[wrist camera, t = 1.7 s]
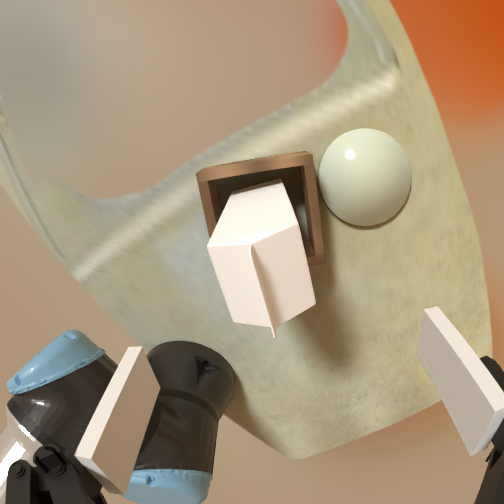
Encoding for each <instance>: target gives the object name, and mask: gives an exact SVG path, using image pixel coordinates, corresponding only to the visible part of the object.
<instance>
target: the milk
mask: <svg viewBox="0 0 504 504" xmlns="http://www.w3.org/2000/svg"><path fill="white" fill-rule="evenodd" d="M207 249H208V252H209V254H210V257H211V260H212V263H213V266H214V269H215V272H216V275H217V278H218V281H219V283H220V286H221V289H222V292H223V295H224V297H225V300H226V303H227V306H228V309H229V311H230V314H231V317H232V320H233V322H235V323H241V324H248V325H256V326H264V327H271V330H272V333H273V337H274V339H276V327H278V326H279V325H281V324H283V323H285V322H286V321H288V320H290V319H292V318H293V317H295V316H297V315H298V314H300V313H302V312H304V311H305V310H307V309H309V308H310V307H312V306H314V305H315V304H316V300H315V295H314V290H313V286H312V281H311V276H310V272H309V267H308V263H307V258H306V254H305V249H304V245H303V241H302V236H301V232H300V228H299V224H298V221H297V218H296V216H295V213H294V210H293V208H292V205H291V203H290V200H289V197H288V195H287V192H286V190H285V187H284V185H283V182H282V180H281V179H276V180H272V181H268V182H264V183H261V184H257V185H253V186H249V187H245V188H242V189H238V190H234V191H232V193H231V195H230V198H229V200H228V202H227V204H226V206H225V208H224V210H223V212H222V215H221V217H220V219H219V221H218V223H217V225H216V227H215V230H214V232H213V234H212V236H211V238H210V240H209V243H208V245H207Z"/></svg>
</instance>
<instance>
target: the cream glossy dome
mask: <svg viewBox="0 0 504 504" xmlns="http://www.w3.org/2000/svg"><path fill="white" fill-rule="evenodd" d="M318 180H319V187H320V191H321V194H322V197H323V199H324V201H325V203H326V204H327V206H328V207H329V208H330V210H331V211H332V212H333V213H334V214H335V215H336V216H338V217H339V218H340V219H342V220H344V221H346V222H348V223H350V224H353V225H358V226H372V225H377V224H380V223H382V222H384V221H386V220H388V219H390V218H391V217H393V216H394V215H395V214H396V213H397V212H398V211H399V210H400V209H401V207H402V206H403V204H404V203H405V201H406V199H407V197H408V194H409V191H410V187H411V167H410V163H409V160H408V157H407V155H406V153H405V151H404V150H403V148H402V147H401V146H400V144H399V143H398V142H397V141H396V140H395V139H393V138H392V137H391V136H389V135H388V134H386V133H384V132H381V131H378V130H375V129H354V130H351V131H348V132H346V133H344V134H342V135H340V136H339V137H337V138H336V139H335V140H334V141H333V142H332V143H331V144H330V145H329V146H328V148H327V149H326V151H325V153H324V155H323V157H322V159H321V162H320V166H319V173H318Z"/></svg>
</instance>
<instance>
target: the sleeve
mask: <svg viewBox="0 0 504 504" xmlns="http://www.w3.org/2000/svg"><path fill="white" fill-rule="evenodd" d="M294 166H299V167H300V174H301V181H302V188H303V195H304V203H305V210H306V218H307V226H308V235H309V241H305V242H303V245H304V249H305V254H306V258H307V263H308V265H314V264H321V263H325V258H324V248H323V238H322V228H321V219H320V210H319V201H318V193H317V185H316V178H315V170H314V163H313V156H312V154H311V153H308V152H306V151H303V152H296V153H289V154H282V155H275V156H268V157H262V158H256V159H250V160H244V161H238V162H232V163H227V164H221V165H216V166H211V167H206V168H203V169H202V170H200V171H199V172H197V173H196V176H197V181H198V186H199V191H200V195H201V200H202V205H203V210H204V214H205V219H206V223H207V228H208V232H209V237H210V238H211V236H212V234H213V232H214V230H215V227H216V225H217V223H218V221H219V219H220V217H221V215H222V212H221V207H220V202H219V197H218V192H217V187H216V182H215V179H220V178H225V177H231V176H237V175H243V174H249V173H255V172H261V171H267V170H274V169H280V168H287V167H294Z"/></svg>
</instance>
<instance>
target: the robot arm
mask: <svg viewBox="0 0 504 504" xmlns="http://www.w3.org/2000/svg"><path fill="white" fill-rule="evenodd" d="M417 356H418V358H419V360H420V361H421V363H422V365H423V367H424V368H425V370H426V372H427V374H428V376H429V377H430V379H431V381H432V383H433V384H434V386H435V388H436V390H437V392H438V394H439V395H440V397H441V399H442V401H443V403H444V405H445V407H446V409H447V410H448V412H449V414H450V416H451V418H452V420H453V422H454V424H455V426H456V428H457V430H458V432H459V434H460V436H461V438H462V440H463V442H464V444H465V446H466V448H467V450H468V452H469V455H470V456H472V455H474V454H476V453H479V452H481V451H483V450H485V449H486V448H487V447H488V445H489V443H490V442H491V441H492V443H493V444H494V448H493V449H492V451H491V453H490V454H489V456H488V457H487V459H486V462H488V460H489V459H490V460H489V463H488V466H487V470H486V473H485V476H484V479H483V481H482V484H481V488H480V490H479V493H478V495H477V498H476V501H475V503H474V504H504V372H503V371H502V369H501V367H500V366H499V365H498V364H497V362H496V361H494V360H493V359H491V358H490V357H488V356H484V357H482V358H478V356H477V355H476V354H475V352H474V351H473V350H472V348H471V347H470V346H469V345H468V343H467V342H466V341H465V340H464V338H463V337H462V336H461V335H460V333H459V332H458V331H457V330H456V328H455V327H454V326H453V325H452V323H451V322H450V321H449V320H448V319H447V317H446V316H445V315H444V314H443V313H442V311H441V310H440V309H439V308H438V307H432V308H428V309H424V310H423V318H422V325H421V332H420V339H419V345H418V351H417ZM7 388H8V390H9V393H10V394H13V397H12V398H11V399H10V400H9V402H8V403H7V404H6V406H5V408H6V414H7V420H8V425H7V427H6V429H5V430H4V431H3V433H2V434H1V436H0V504H107V502H106V500H105V498H104V496H103V495H102V493H101V492H100V491H101V488H102V486H103V487H104V488H105V489H106V490H107V491H108V492H110V493H114V494H119V495H120V496H122V497H124V498H126V499H128V500H131V501H133V502H136V503H140V504H201V503H203V502H204V501H205V499H206V498H207V495H208V491H209V486H210V482H211V480H212V473H213V464H214V456H215V447H216V438H217V429H218V422H219V419H220V418H221V416H222V415H223V413H224V412H225V410H226V408H227V407H228V405H229V403H230V402H231V400H232V398H233V395H234V388H235V376H234V372H233V370H232V368H231V366H230V365H229V363H228V362H227V361H226V360H225V359H224V358H223V357H222V356H221V355H219V354H218V353H217V352H215V351H214V350H212V349H210V348H208V347H206V346H203V345H200V344H197V343H193V342H187V341H171V342H166V343H163V344H160V345H158V346H156V347H155V348H153V349H152V350H151V351H150V352H149V353H148V355H147V356H146V354H145V352H144V349H143V347H128V349H127V351H126V353H125V355H124V356H123V358H122V360H121V362H120V364H119V366H118V365H117V364H116V363H115V362H114V361H113V360H112V359H110V358H109V357H108V356H107V355H106V354H105V350H104V349H100V348H99V347H98V346H97V345H96V344H94V343H93V342H92V341H91V340H90V339H89V338H87V336H85V335H84V334H83V333H82V332H80V331H78V330H67V331H65V332H63V333H62V334H61V335H59V336H58V337H57V338H56V339H54V340H53V341H52V342H51V343H50V344H48V345H47V346H46V347H45V348H44V349H43V350H41V351H40V352H39V353H38V354H37V355H36V356H34V357H33V358H32V359H31V360H30V361H29V362H28V363H27V364H25V365H24V366H23V367H22V368H21V369H20V370H19V371H18V372H17V373H16V374H15V375H14V376H13V377H12V378H11V379H10V380H9V381H8V382H7Z"/></svg>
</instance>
